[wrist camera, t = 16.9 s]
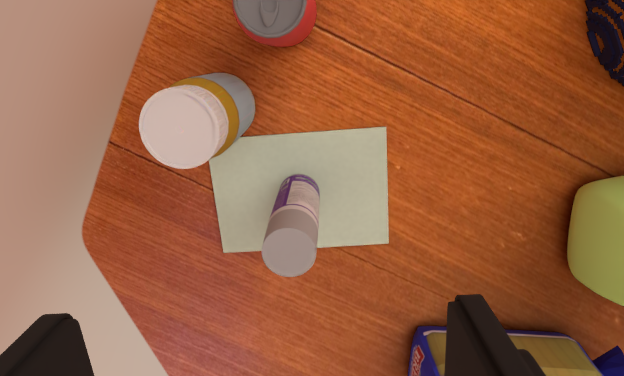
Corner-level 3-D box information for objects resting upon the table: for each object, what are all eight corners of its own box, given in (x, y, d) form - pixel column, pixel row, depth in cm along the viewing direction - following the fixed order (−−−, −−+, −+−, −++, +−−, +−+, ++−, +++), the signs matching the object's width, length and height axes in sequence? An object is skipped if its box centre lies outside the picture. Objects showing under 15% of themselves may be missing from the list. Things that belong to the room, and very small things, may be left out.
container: (288, 217, 49) (273, 285, 34) (272, 182, 47) (250, 238, 33) (325, 203, 48) (326, 267, 34) (310, 167, 47) (304, 218, 32)
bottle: (259, 134, 46) (231, 172, 32) (198, 138, 46) (142, 177, 32) (253, 69, 44) (219, 78, 30) (188, 74, 44) (123, 85, 30)
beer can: (250, 43, 43) (223, 40, 32) (253, -27, 41) (226, -57, 30) (313, 50, 43) (309, 49, 32) (320, -20, 41) (318, -47, 30)
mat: (224, 251, 51) (223, 253, 50) (206, 139, 46) (205, 139, 46) (388, 242, 50) (388, 243, 49) (385, 126, 45) (386, 127, 45)
